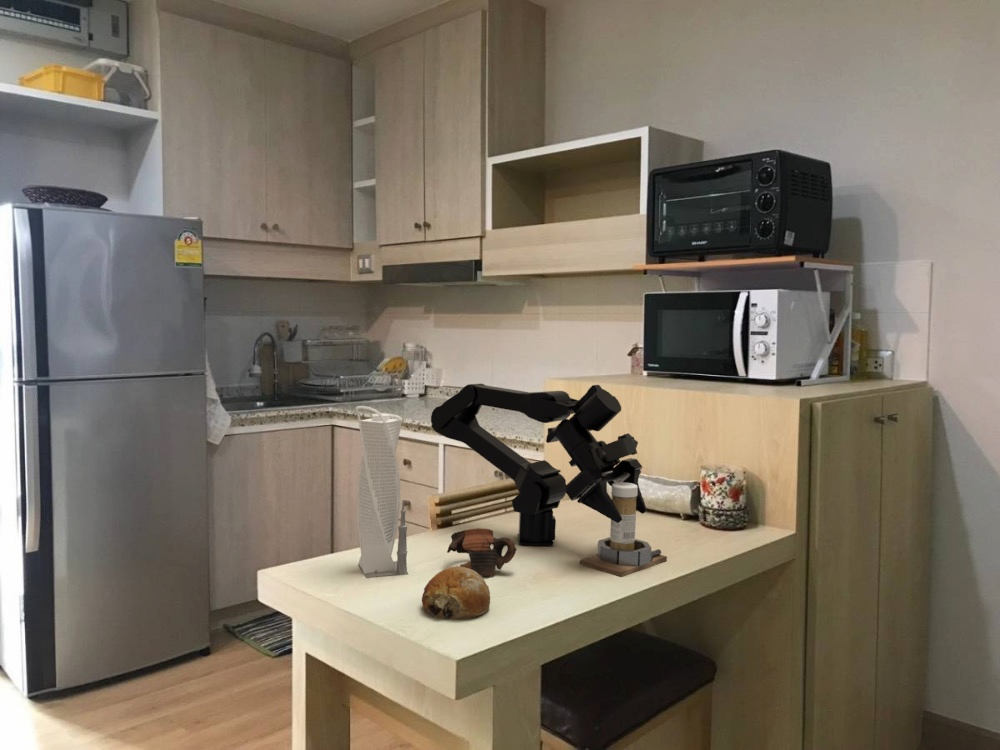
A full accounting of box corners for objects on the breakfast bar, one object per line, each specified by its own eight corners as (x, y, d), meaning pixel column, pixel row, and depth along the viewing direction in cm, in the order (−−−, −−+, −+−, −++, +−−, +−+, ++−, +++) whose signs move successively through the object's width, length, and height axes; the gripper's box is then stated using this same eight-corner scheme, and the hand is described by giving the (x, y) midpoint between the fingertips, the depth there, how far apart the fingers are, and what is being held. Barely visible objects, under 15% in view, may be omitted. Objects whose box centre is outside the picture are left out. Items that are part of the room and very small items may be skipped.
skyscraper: (357, 580, 132) (361, 408, 130) (348, 565, 139) (351, 403, 137) (408, 576, 135) (412, 408, 133) (396, 561, 143) (400, 402, 140)
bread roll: (492, 640, 118) (513, 587, 120) (438, 622, 113) (461, 567, 114) (455, 617, 126) (475, 568, 128) (403, 600, 121) (425, 549, 122)
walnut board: (621, 576, 138) (621, 572, 138) (579, 564, 144) (579, 559, 144) (666, 560, 148) (666, 556, 148) (625, 549, 154) (625, 545, 154)
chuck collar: (630, 569, 139) (630, 554, 139) (588, 556, 146) (589, 543, 145) (666, 556, 147) (667, 543, 147) (625, 545, 154) (625, 532, 153)
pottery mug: (443, 581, 134) (439, 531, 137) (460, 589, 142) (456, 543, 146) (513, 568, 132) (507, 519, 135) (526, 578, 140) (520, 531, 144)
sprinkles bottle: (630, 554, 148) (633, 481, 147) (637, 562, 143) (641, 487, 142) (605, 554, 147) (609, 481, 146) (612, 562, 143) (615, 486, 142)
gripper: (583, 424, 139) (638, 498, 133) (635, 415, 154) (686, 482, 148) (543, 463, 144) (594, 536, 138) (597, 451, 159) (645, 517, 153)
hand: (632, 516), depth 144 cm, fingers open, 9 cm apart
